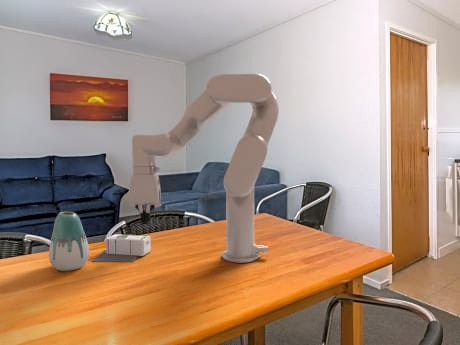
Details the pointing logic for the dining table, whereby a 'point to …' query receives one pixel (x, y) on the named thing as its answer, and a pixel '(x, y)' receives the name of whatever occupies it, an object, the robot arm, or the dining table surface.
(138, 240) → the syrup box
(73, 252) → the vase
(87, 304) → the dining table surface
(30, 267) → the dining table surface
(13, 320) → the dining table surface
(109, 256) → the mat
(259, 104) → the robot arm
